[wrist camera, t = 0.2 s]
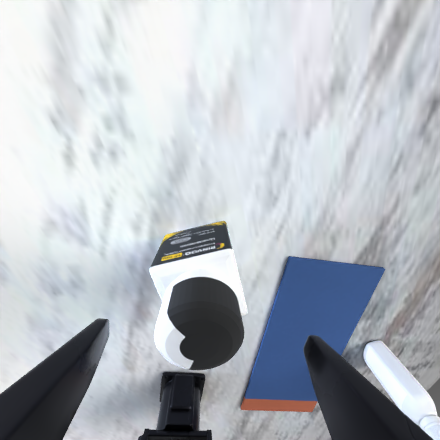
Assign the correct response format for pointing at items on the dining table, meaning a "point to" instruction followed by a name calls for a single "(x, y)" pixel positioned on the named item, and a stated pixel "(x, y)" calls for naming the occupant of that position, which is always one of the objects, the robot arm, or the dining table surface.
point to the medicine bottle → (198, 298)
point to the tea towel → (306, 328)
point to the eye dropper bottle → (402, 387)
